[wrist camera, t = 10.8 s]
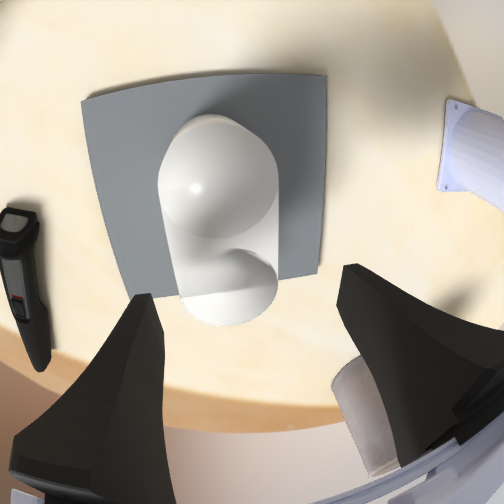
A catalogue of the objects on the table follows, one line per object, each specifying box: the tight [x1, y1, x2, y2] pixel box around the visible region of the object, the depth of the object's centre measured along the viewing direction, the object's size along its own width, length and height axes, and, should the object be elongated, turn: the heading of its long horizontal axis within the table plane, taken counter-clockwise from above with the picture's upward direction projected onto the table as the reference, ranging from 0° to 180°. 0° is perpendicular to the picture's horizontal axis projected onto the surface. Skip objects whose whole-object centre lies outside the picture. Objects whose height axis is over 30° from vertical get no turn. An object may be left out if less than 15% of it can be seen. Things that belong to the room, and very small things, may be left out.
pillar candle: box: [331, 356, 400, 478], centre depth 26 cm, size 10×10×15 cm
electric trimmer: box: [0, 207, 51, 372], centre depth 17 cm, size 4×16×3 cm, turn 162°
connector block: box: [158, 114, 279, 326], centre depth 15 cm, size 4×11×6 cm, turn 2°
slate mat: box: [81, 74, 326, 301], centre depth 17 cm, size 14×14×1 cm
